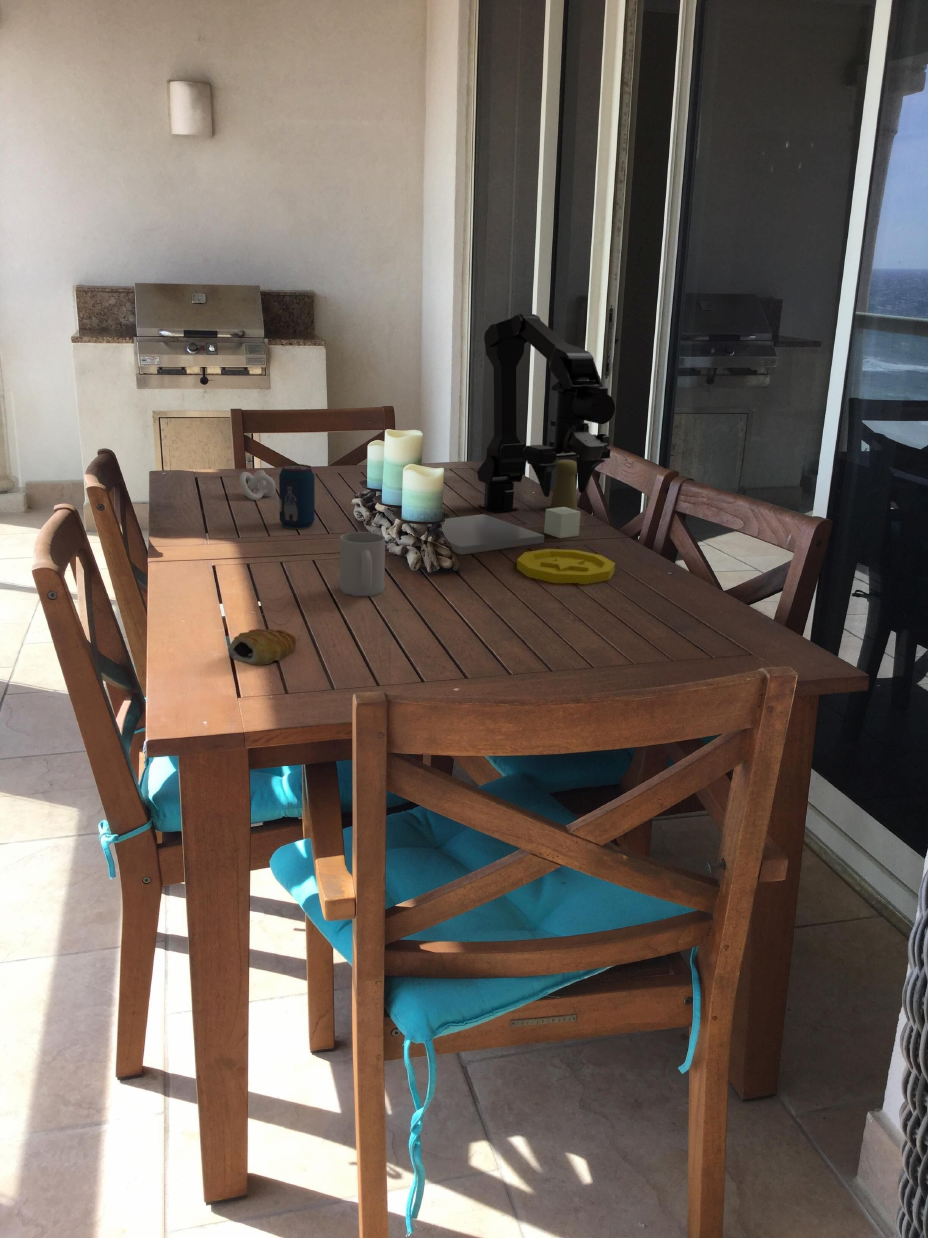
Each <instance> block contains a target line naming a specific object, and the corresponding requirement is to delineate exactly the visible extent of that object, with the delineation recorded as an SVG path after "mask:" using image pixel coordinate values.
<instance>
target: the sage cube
mask: <svg viewBox="0 0 928 1238" xmlns="http://www.w3.org/2000/svg"><path fill="white" fill-rule="evenodd" d="M581 514H582V512H581V511H580V510H573V509H570V508H567V507H559V508H545V515H544V531H543V532H544V534H547V535H549V536H553V537H556V538H558V539H563V538H571V537H577V536H579V535H580V524H581Z"/></svg>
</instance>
